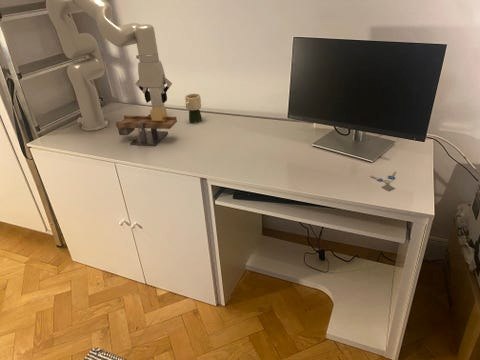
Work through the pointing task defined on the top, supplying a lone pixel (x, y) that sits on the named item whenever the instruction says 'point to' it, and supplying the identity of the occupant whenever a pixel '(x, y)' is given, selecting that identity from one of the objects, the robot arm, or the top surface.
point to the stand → (148, 136)
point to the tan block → (159, 115)
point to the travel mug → (156, 97)
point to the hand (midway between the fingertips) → (156, 101)
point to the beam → (131, 122)
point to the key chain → (387, 186)
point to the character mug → (193, 107)
